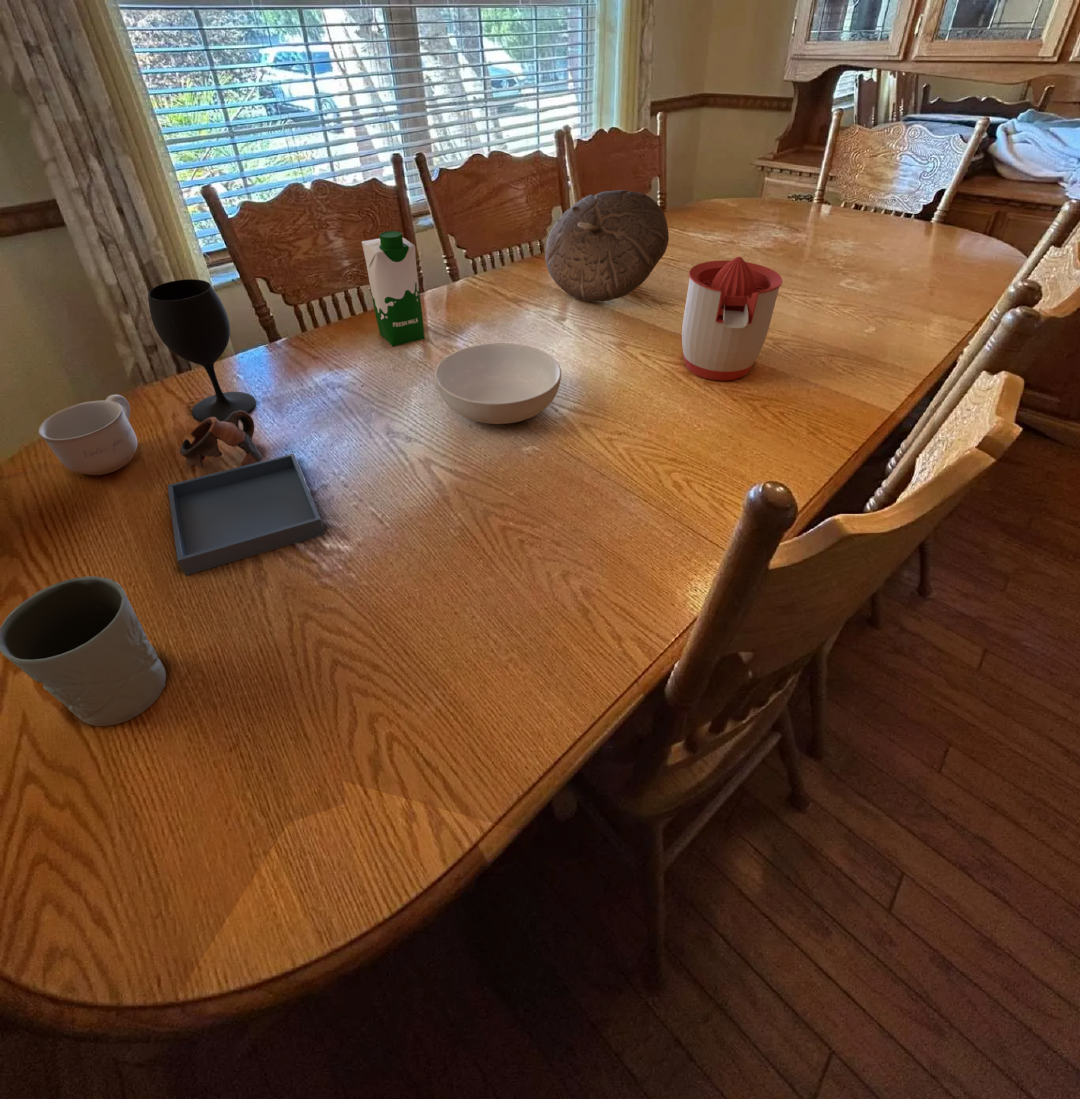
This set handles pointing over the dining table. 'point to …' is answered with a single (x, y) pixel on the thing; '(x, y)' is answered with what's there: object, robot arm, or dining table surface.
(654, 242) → the brown fungus
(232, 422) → the broken clay jug
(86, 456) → the teacup
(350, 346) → the dining table surface
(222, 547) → the dark gray rectangular tray
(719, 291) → the citrus juicer
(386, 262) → the milk carton
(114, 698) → the gray ceramic cup
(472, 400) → the serving bowl
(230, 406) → the wine glass
